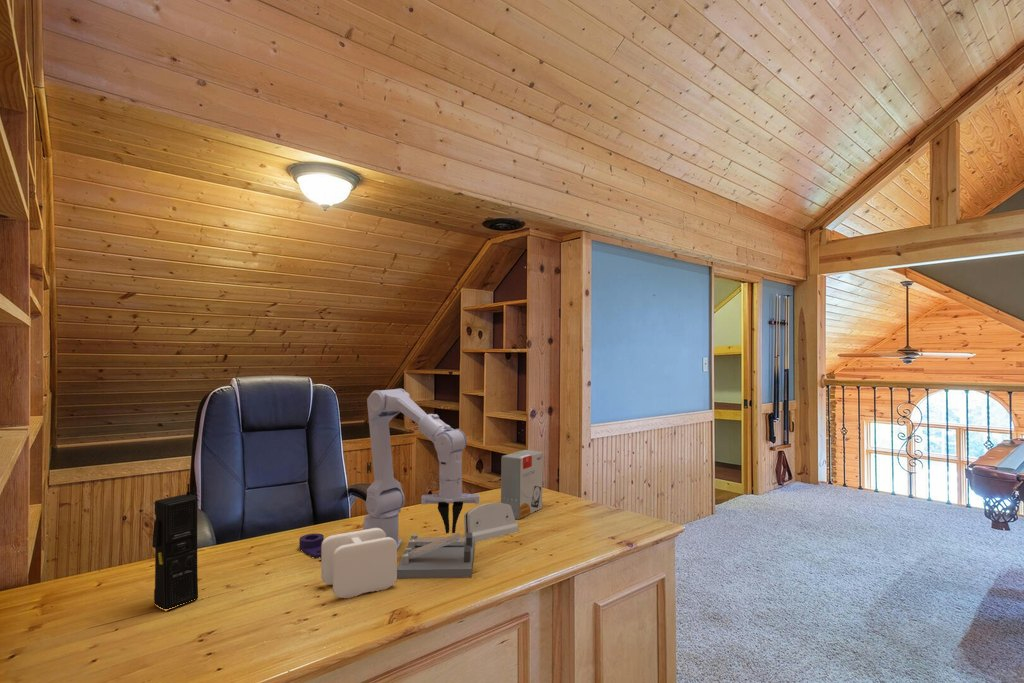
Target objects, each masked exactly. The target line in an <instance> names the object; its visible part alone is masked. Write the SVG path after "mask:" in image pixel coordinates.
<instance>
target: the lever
mask: <svg viewBox="0 0 1024 683" xmlns="http://www.w3.org/2000/svg"><path fill="white" fill-rule="evenodd" d="M324 539H325V537H324V535H323V534H322V533H316V532H315V533H308V534H304V535H301V536H300V537H299V544H298V545H299V549H300V550H302V551H303V552H305V553H306V554H305V553H304V554H305V555H307V554H308V555H310V556H311V557H310V556H309V557H310V558H312V557H314V558H313V559H320V558H319V557H321V545H322V542H323V540H324ZM300 550H299V551H300ZM302 551H301V552H302ZM303 552H302V553H303ZM308 555H307V556H308Z"/></svg>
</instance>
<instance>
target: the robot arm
mask: <svg viewBox="0 0 1024 683" xmlns="http://www.w3.org/2000/svg"><path fill="white" fill-rule="evenodd" d="M366 403H367V404H366V405H367V414H368V416H367V417H368V425H369V426H368V427H369V437H370V438H369V439H370V448H371V457H372V458H371V460H372V469H373V471H372V472H373V482H371V484H370V485H369V487H368V488H367V489H366V500H365V508H366V512H367V513H368V514H365V515H364V518H363V523H362V526H363V527H362V530H366V529H371V528H380V529H382V530H383V531H384V532H385V534H386V537H390V538H393V539H394V540H395V541H396V543H397V551H398V550H399V548H400V545H401V544H402V541H403V539H402V538H401V539H400V538H399V517H400V516H399V514H400V513H401V512H402V510H401V509H402V508H403V507H404V506H405V503H406V497H405V493H404V491H403V488H402V483H401V482H400V481H398V480H397V479H396V478H395V477H394V466H393V456H392V444H391V442H392V441H391V433H390V424H389V423H390V422H391V421H392V419H393V418H394V417H395V416H397V415H398V414H400V413H402V415H404V416H406V417H407V418H409V419H410V420H411V421H413V422H414V423H415V424H417V425H418V431H419V432H420V433H421V434H422V435H423V436H425V437H426V438H427V439H429V441H431V443H433V446H434V449H435V451H436V453H437V454H436V455H437V460H438V462H439V467H438V468H439V472H438V473H439V479H438V480H439V485H438V486H439V493H431V494H422V495H421V501H420V502H421V505H423V506H424V505H427V504H434V505H435V504H437V511H438V513H439V515H440V516H441V518H442V521H443V525H444V529H445V534H450V519H449V518H450V514H449V513H450V504H452V507H451V509H452V525H451V533H452V534H456V528H457V523H458V520H459V519H458V518H459V516H460V514H461V512H462V509H463V507H464V504H475V505H478V504H479V505H480V494H479V493H466V492H465V493H463V451H464V450H465V448H466V447H467V444H468V442H467V441H468V440H467V436H466V434H465V432H464V431H463V430H462V429H460V428H455V429H454V428H452V426H450V425H449V424H447V423H446V422H444V421H443V420H442V419H440V415H438V413H435V414H434V413H428V414H427V413H426V412H425V410H423V409H422V408H421V407H420V406H419V405H418V404H417V403H416V402H415V401H413V400H412V399H411V396H410V393H409V392H406V390H405V389H403V388H400V387H399V388H394V389H382V390H379V389H375V390H372V392H371V393H370V394H369V396H368V397H367V399H366Z"/></svg>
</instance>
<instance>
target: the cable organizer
mask: <svg viewBox="0 0 1024 683" xmlns="http://www.w3.org/2000/svg"><path fill="white" fill-rule="evenodd" d="M320 559H321V565H320V566H321V572H320V573H321V574H320V575H321V580H322V582H323V584H326V585H332V591H333V592H332V593H333V594H334V595H335V596H336V597H338V598H341V599H343V598H344V599H345V598H348V599H351V598H350V597H352V598H354V597H353V596H355V597H358V596H357V595H359V596H360V595H362V594H365V593H369V592H373V593H375V592H374V591H377V592H380V591H379V590H381V591H384V590H383V589H385V590H387V589H389V588H390V587H391V586H393V585H394V584H395V583H396V581H397V580H398V578H397V568H398V550H397V543H396V541H395V540H394V539H393V538H390V537H386V534H385V532H384V531H383V530H382V529H380V528H371V529H366V530H363V529H362V530H361V529H360V530H354V531H349V532H343V533H339V534H338V533H337V534H332V535H329V536H327V537H324V540H323V542H322V545H321V558H320Z"/></svg>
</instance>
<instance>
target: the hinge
mask: <svg viewBox="0 0 1024 683" xmlns="http://www.w3.org/2000/svg"><path fill="white" fill-rule="evenodd" d="M463 521H464V522H463V523H464V524H463V525H464V537H466V535H467V533H472V537H475V543H479V542H478V541H480V542H483V541H482V540H484V541H487V540H486V539H488V540H490V539H489V538H493V539H495V538H494V537H497V538H499V537H498V536H501V535H505V536H507V535H506V534H510V533H514V532H518V531H520V527H519V525H518V523H517V521H516V519H515V518H514V514H513V511H512V508H511V506H510V505H509V504H504V503H501V502H488V503H482V504H479V505H478V506H475V507H472V508H471V509H469V510H468V511H466V512H465V513H464V516H463ZM518 533H519V532H518ZM514 534H515V533H514ZM510 535H511V534H510ZM501 537H502V536H501Z"/></svg>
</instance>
